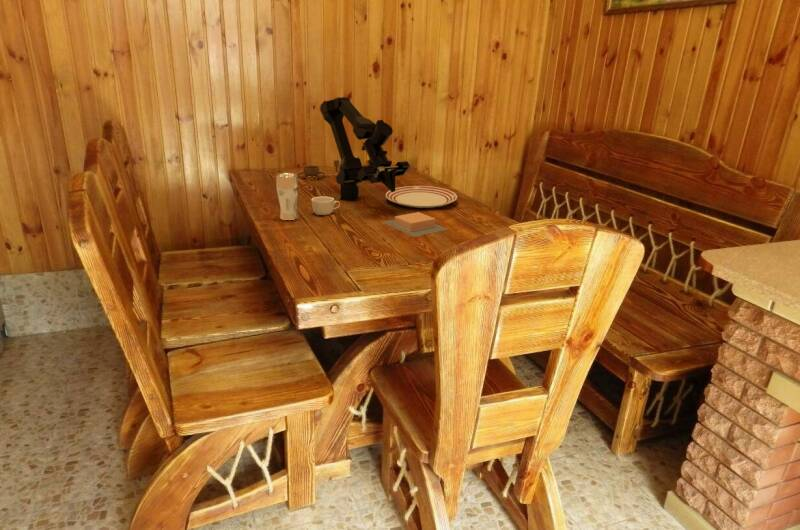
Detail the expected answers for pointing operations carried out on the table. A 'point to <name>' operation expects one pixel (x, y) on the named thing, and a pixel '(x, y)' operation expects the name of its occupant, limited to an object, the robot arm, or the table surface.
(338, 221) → the table surface
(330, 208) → the teacup
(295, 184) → the beer glass
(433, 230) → the mat
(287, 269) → the table surface
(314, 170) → the place setting
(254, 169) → the table surface
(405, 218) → the tile
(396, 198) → the dinner plate
